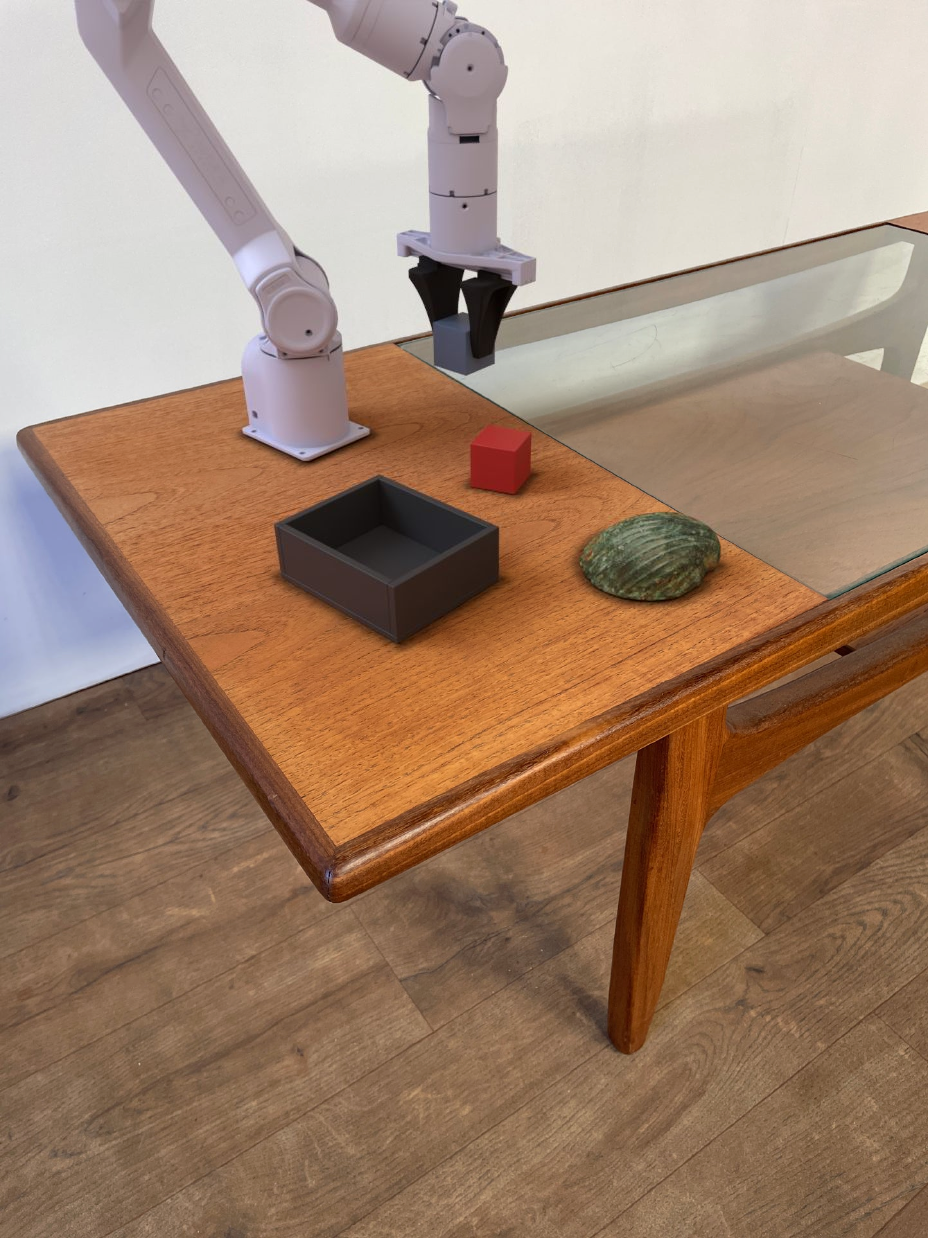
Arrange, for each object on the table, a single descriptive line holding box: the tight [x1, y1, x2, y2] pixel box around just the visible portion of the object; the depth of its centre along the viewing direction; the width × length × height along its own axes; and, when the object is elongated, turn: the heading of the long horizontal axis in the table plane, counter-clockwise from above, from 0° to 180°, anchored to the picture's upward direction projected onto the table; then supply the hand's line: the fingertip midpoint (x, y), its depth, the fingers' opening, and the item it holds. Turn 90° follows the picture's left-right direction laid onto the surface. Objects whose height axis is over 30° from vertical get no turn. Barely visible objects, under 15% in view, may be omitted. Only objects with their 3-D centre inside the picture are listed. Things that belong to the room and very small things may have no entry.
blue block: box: [432, 311, 496, 377], centre depth 87 cm, size 4×4×4 cm
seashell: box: [579, 511, 722, 602], centre depth 70 cm, size 10×4×10 cm
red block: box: [469, 424, 533, 495], centre depth 81 cm, size 4×4×4 cm
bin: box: [273, 473, 500, 645], centre depth 68 cm, size 12×10×4 cm
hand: (464, 349), depth 88 cm, fingers closed on blue block, 4 cm apart
